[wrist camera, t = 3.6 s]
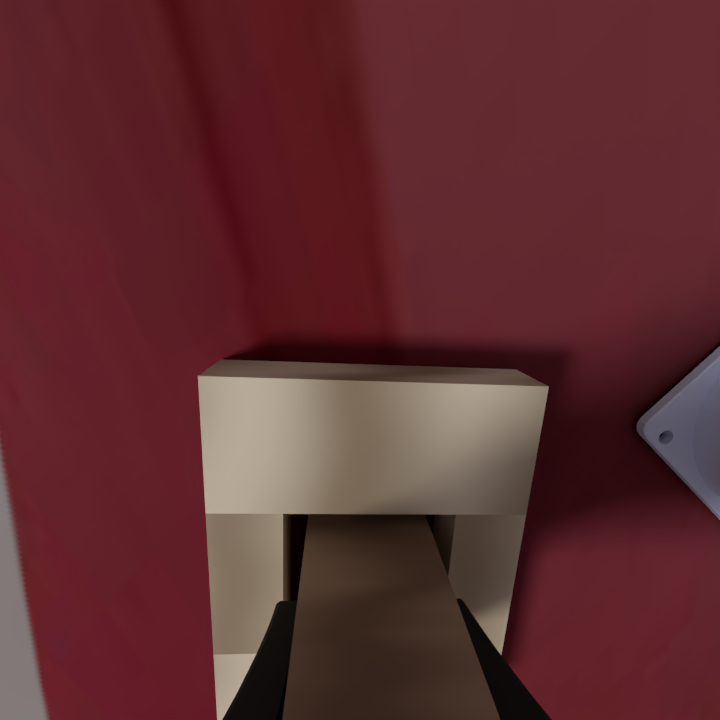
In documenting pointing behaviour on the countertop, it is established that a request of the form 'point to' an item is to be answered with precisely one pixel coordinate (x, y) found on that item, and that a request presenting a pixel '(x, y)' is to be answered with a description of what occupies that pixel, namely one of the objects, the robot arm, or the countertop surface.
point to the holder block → (360, 478)
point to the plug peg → (380, 627)
